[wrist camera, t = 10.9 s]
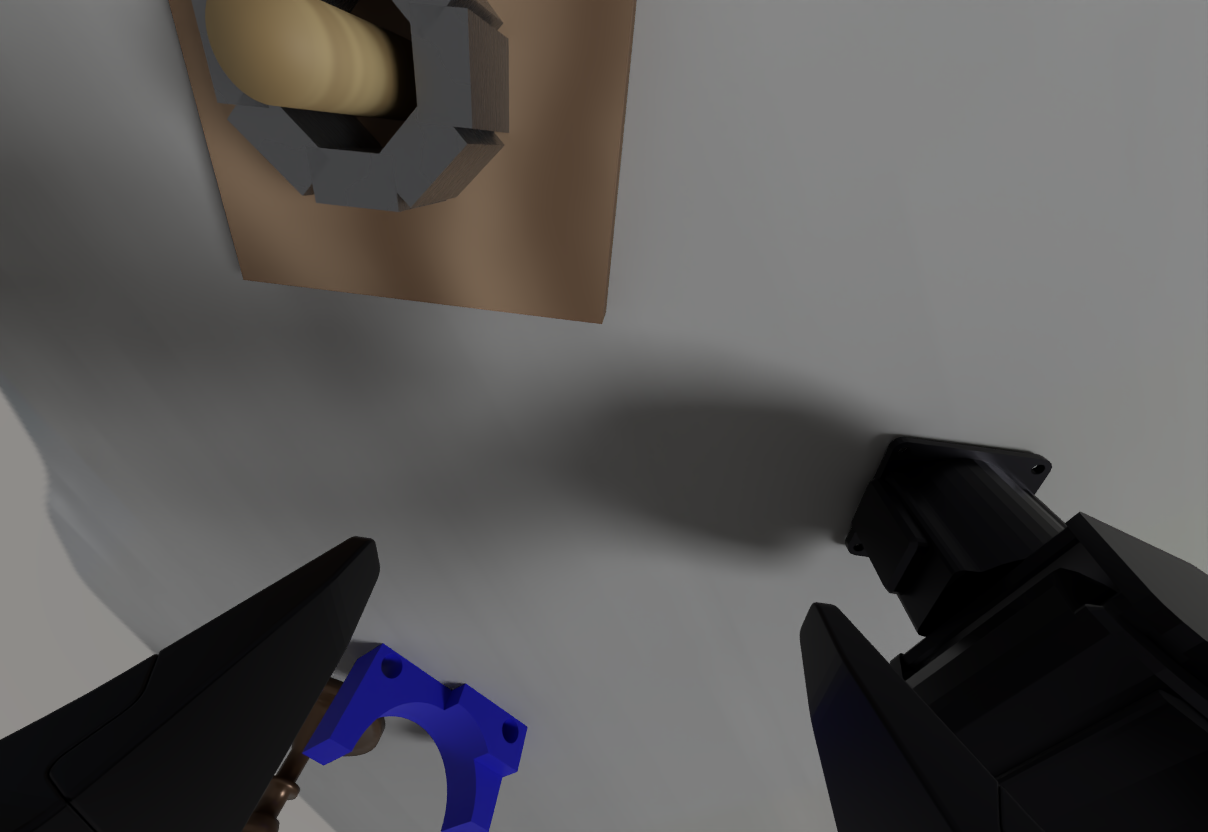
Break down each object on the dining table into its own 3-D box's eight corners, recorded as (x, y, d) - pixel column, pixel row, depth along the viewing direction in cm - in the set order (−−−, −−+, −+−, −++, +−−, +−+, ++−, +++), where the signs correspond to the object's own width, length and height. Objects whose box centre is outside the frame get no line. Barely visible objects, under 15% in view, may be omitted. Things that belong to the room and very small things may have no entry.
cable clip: (527, 725, 35) (504, 826, 30) (487, 742, 37) (458, 841, 31) (397, 632, 31) (344, 730, 26) (358, 657, 33) (301, 753, 28)
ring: (507, -63, 13) (462, -127, 10) (509, 207, 16) (476, 220, 13) (267, -82, 13) (152, -151, 10) (317, 186, 17) (240, 194, 14)
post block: (657, -211, 13) (655, -600, 6) (605, 312, 19) (579, 394, 13) (146, -250, 13) (-364, -648, 7) (270, 271, 20) (82, 330, 13)
